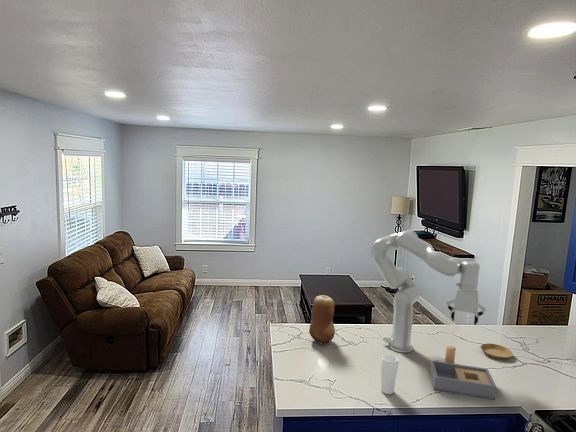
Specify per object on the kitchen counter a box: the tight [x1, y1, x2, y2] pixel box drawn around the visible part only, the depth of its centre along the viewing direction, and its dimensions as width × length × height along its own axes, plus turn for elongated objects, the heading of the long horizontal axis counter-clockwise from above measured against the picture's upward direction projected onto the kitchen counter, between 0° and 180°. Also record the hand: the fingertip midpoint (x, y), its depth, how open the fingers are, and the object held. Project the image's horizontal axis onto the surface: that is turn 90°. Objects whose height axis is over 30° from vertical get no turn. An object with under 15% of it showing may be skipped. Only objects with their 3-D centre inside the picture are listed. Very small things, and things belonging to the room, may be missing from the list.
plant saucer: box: [480, 342, 513, 360], centre depth 205 cm, size 15×15×3 cm
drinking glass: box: [380, 353, 399, 395], centre depth 167 cm, size 7×7×15 cm
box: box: [429, 360, 497, 401], centre depth 174 cm, size 24×15×6 cm, turn 76°
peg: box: [444, 345, 457, 364], centre depth 189 cm, size 4×4×10 cm
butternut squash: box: [308, 294, 336, 345], centre depth 209 cm, size 14×13×25 cm
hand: (463, 321), depth 189 cm, fingers open, 9 cm apart
